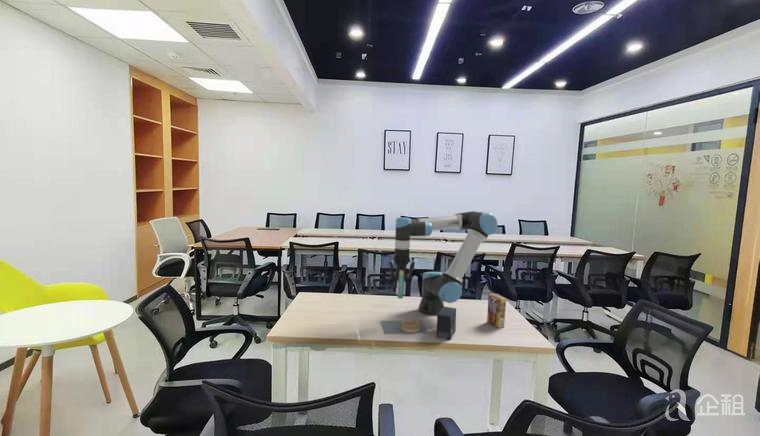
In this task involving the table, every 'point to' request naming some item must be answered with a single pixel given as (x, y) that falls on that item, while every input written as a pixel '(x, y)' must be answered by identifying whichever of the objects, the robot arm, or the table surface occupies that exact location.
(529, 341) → the table surface
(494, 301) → the candy box
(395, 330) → the mat
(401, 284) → the teal and tan cylinder
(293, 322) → the table surface
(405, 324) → the bead
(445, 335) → the small box
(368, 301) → the table surface
